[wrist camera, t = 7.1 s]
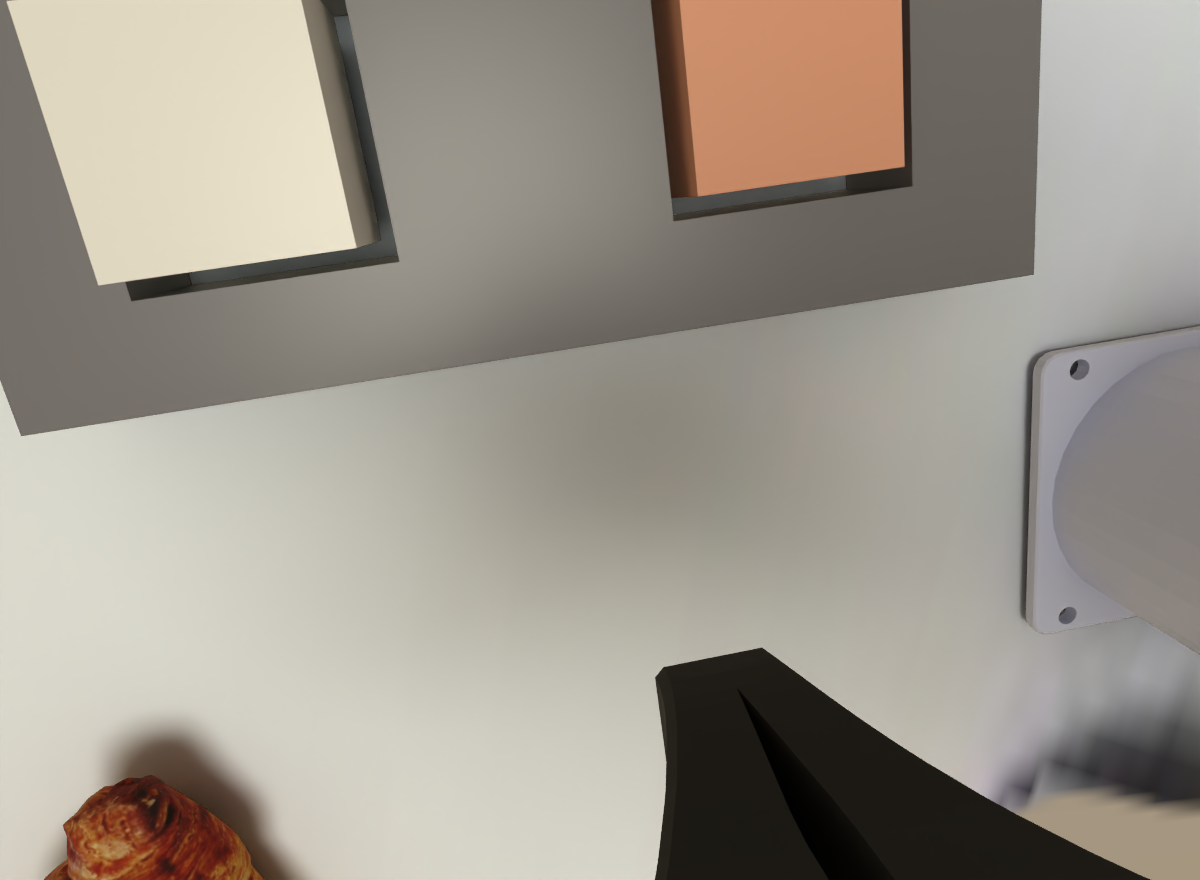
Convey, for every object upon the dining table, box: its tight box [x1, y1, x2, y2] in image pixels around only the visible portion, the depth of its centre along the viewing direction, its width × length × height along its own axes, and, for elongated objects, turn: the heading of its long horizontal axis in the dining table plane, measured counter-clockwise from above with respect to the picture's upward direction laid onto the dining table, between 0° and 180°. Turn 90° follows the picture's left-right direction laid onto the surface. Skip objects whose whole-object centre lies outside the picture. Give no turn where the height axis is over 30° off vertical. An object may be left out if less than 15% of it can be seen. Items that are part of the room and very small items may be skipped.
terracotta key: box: [651, 0, 905, 198], centre depth 15 cm, size 4×4×3 cm
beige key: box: [7, 0, 381, 285], centre depth 13 cm, size 4×4×3 cm
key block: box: [0, 0, 1042, 436], centre depth 16 cm, size 20×9×3 cm, turn 98°
